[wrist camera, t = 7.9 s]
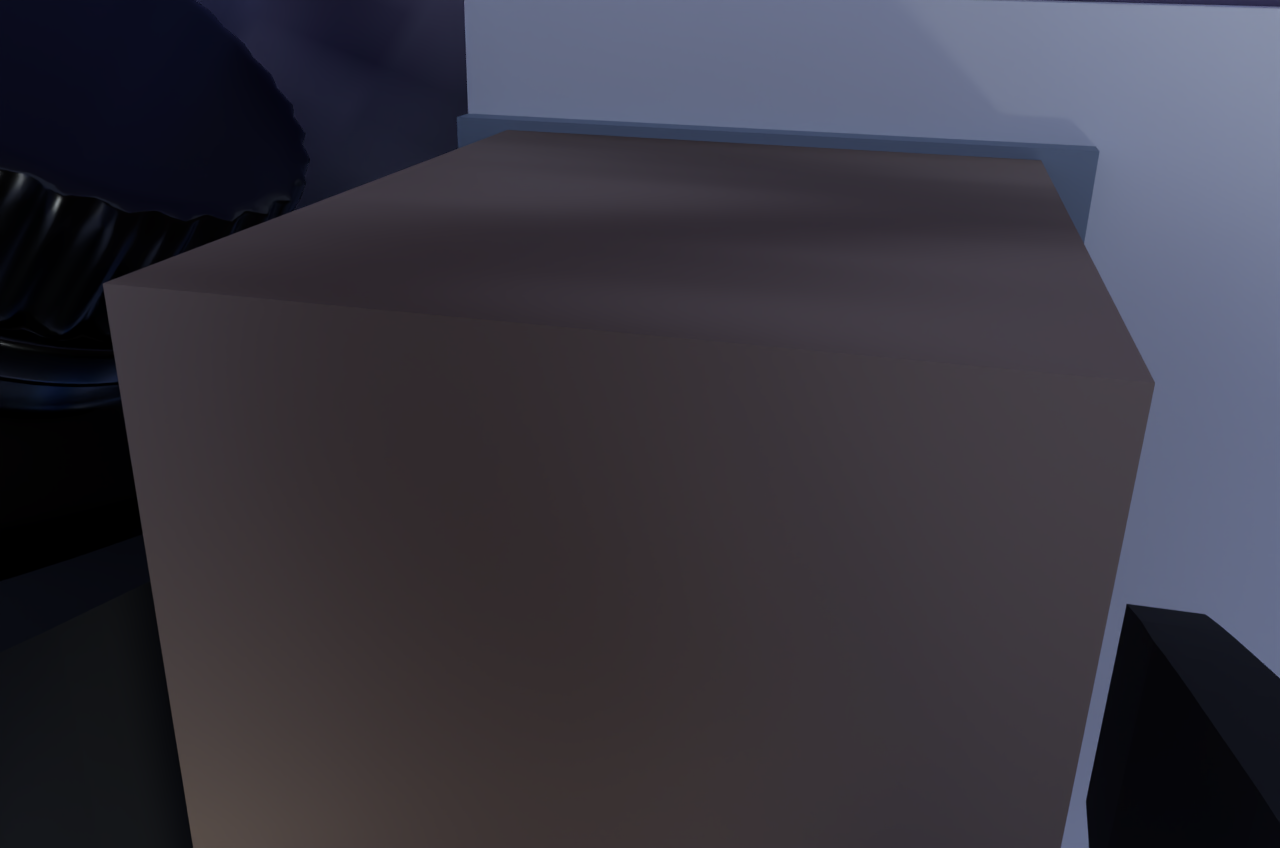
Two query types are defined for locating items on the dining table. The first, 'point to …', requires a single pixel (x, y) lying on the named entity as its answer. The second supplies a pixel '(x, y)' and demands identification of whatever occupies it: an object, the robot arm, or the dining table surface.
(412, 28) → the dining table surface
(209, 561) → the walnut block
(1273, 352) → the board
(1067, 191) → the pad
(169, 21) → the supplement bottle
